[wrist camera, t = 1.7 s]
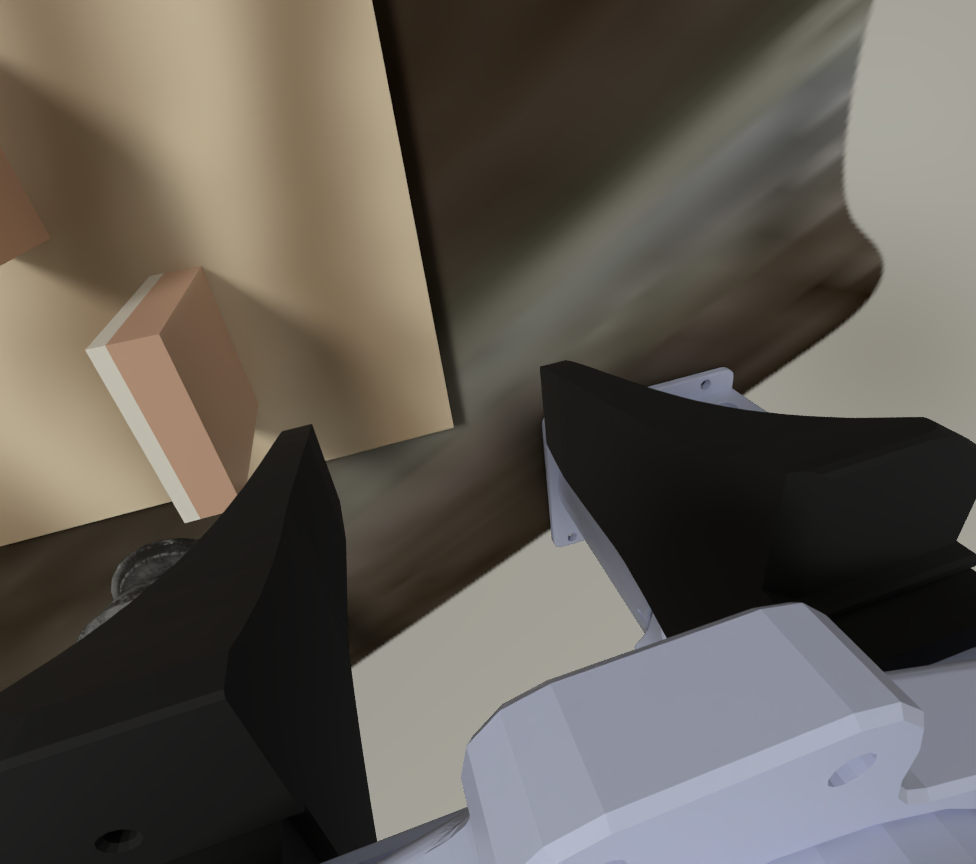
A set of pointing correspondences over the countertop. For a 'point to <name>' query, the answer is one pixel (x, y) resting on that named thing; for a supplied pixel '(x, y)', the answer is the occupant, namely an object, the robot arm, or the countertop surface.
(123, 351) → the cream tile
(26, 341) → the maple board
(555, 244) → the countertop surface
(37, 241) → the tan piece
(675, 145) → the countertop surface
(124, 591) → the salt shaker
